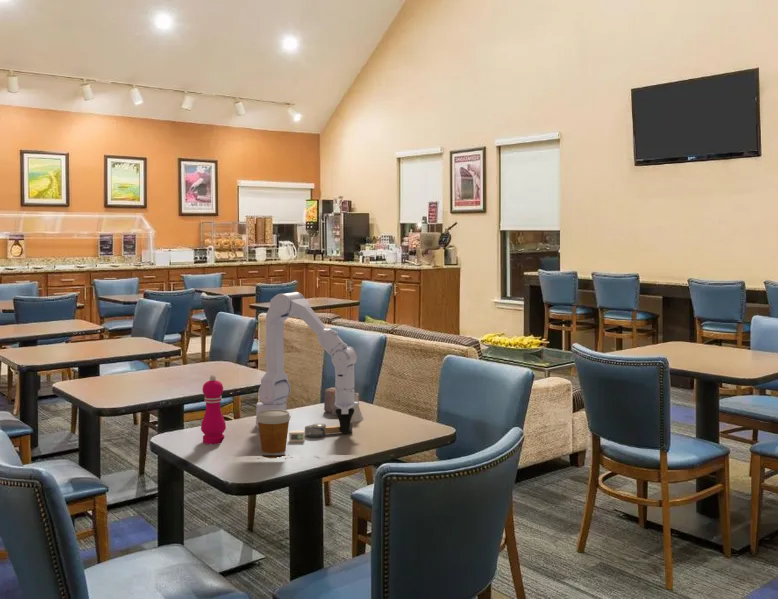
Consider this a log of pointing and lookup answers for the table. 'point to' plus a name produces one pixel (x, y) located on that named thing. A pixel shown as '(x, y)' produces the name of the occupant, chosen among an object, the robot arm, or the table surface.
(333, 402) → the food item
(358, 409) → the flask
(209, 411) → the pepper mill
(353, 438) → the table surface
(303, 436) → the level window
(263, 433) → the disposable coffee cup
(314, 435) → the wooden handled metal tool
